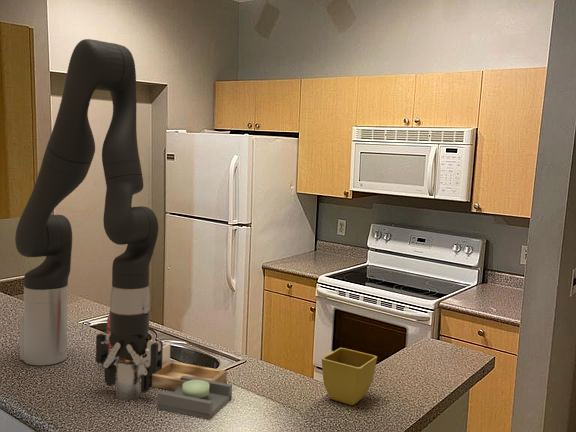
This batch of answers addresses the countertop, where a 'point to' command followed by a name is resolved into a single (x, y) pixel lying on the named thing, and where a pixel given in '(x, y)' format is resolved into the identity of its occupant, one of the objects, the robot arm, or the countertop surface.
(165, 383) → the wooden tray
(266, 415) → the countertop surface
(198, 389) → the pale green disc
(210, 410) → the cradle
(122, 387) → the cell
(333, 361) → the flower pot
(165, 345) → the cup
